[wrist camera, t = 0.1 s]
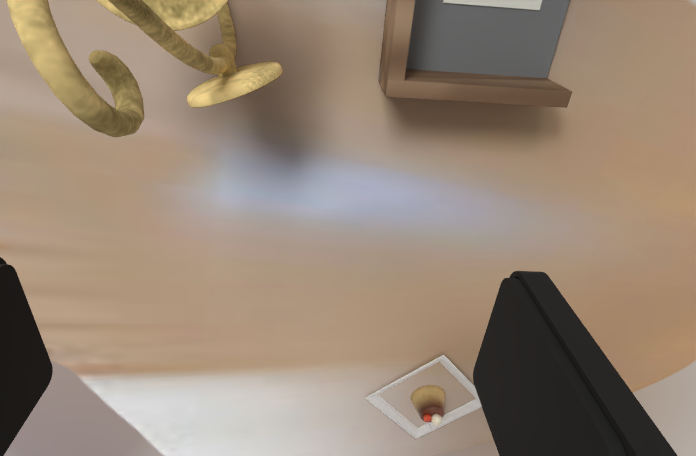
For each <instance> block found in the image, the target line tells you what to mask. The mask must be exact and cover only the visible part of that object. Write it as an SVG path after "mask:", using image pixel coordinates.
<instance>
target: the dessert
mask: <svg viewBox="0 0 696 456" xmlns="http://www.w3.org/2000/svg"><path fill="white" fill-rule="evenodd" d="M438 362H440V363H441V364H442V365H443V366H444V367H445V368H446V369H447V370H448V371H449V372H450V373H451V374H452V375H453V376H454V377H455V378H456V379H457V380H458V381H459V382H460V383H461V384H462V385H463V386H464V387H465V388H466V389H467V390H468V391H469V392H470V393H471V394H472V395H473V396H474V397H475V398H476V399H474V400H472V401H470V402H468V403H467V404H465V405H463V406H461V407H459V408H457V409H455V410H453V411H451V412H449V413H447V414H445V415H444V404H445V392H444V390H443V389H442V388H440V387H438V386H434V385H427V386H423V387H420V388H418V389H417V390H415V391H414V392H413V394H412V395H411V401H412V403H413V405H414V406H415V408H416V410H417V412H418V414H419V415H420V417H421V419H422V420H424V421H425V422H428V423H427V424H425V425H423V426H421V427H419V428H417V427H416V426H414V425H413V424H412V423H411V422H410V421H408V420H407V419H406V418H405V417H404V416H403V415H401V414H400V413H399V412H398V411H397V410H395V409H394V408H393V407H392V406H391V405H390V404H388V403H387V402H386V401H385V400H384V399H382V398H381V397H380V396H379V394H381V393H382V392H384V391H386V390H388V389H390V388H392V387H394V386H395V385H397V384H399V383H401V382H403V381H405V380H406V379H408V378H410V377H412V376H414V375H416V374H417V373H419V372H421V371H423V370H425V369H427V368H429V367H430V366H432V365H434V364H436V363H438ZM366 399H367V400H368V401H369V402H371V403H372V404H373V405H374V406H376V407H377V408H378V409H379V410H380V411H382V412H383V413H384V414H385V415H386V416H388V417H389V418H390V419H391V420H393V421H394V422H395V423H396V424H397V425H399V426H400V427H401V428H402V429H403V430H405V431H406V432H407V433H408V434H410V435H411V436H412V437H413V438H414V439H418V438H420V437H422V436H424V435H426V434H428V433H430V432H432V431H434V430H436V429H438V428H440V427H442V426H444V425H446V424H448V423H450V422H452V421H454V420H456V419H459V418H461V417H463V416H465V415H467V414H469V413H471V412H473V411H475V410H477V409H479V408H481V407H482V405H481V403H480V400H479V397H478V394H477V392H476V389H475V386H474V385H473V384H472V383H471V382H470V381H469V380H468V379H467V378H466V377H465V376H464V375H463V374H462V373H461V372H460V371H459V370H458V368H457V367H456V366H455V365H454V364H453V363H452V362H451V361H450V360H449V359H448V358H447V357H446V356H445V355H442V356H440V357H438V358H436V359H435V360H433V361H431V362H429V363H427V364H425V365H424V366H422V367H420V368H418V369H416V370H414V371H413V372H411V373H409V374H407V375H405V376H403V377H402V378H400V379H398V380H396V381H394V382H393V383H391V384H389V385H387V386H385V387H383V388H382V389H380V390H378V391H376V392H374V393H372V394H371V395H369V396H367V397H366Z"/></svg>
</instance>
